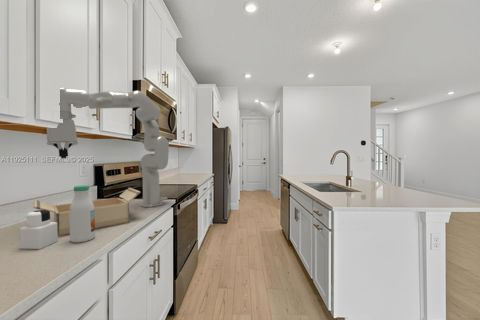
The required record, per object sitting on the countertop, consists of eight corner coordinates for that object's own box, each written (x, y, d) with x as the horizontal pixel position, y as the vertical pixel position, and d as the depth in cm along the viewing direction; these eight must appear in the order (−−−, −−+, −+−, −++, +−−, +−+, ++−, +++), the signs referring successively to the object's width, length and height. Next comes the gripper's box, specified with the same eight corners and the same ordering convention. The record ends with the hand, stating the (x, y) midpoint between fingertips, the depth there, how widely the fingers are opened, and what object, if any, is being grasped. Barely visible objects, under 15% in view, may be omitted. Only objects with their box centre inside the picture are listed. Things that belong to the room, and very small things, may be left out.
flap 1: (52, 204, 99) (34, 199, 95) (55, 211, 87) (34, 206, 83) (51, 205, 99) (33, 201, 95) (54, 212, 86) (33, 208, 82)
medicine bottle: (39, 240, 82) (38, 208, 82) (58, 241, 82) (57, 208, 82) (19, 249, 75) (18, 213, 75) (39, 249, 75) (38, 213, 75)
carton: (118, 214, 118) (117, 197, 118) (129, 222, 103) (129, 203, 103) (53, 225, 100) (53, 205, 100) (57, 237, 86) (56, 213, 86)
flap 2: (119, 197, 117) (130, 188, 120) (129, 202, 105) (140, 192, 108) (118, 196, 117) (129, 187, 120) (128, 201, 104) (139, 191, 108)
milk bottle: (85, 243, 80) (84, 187, 79) (64, 243, 80) (62, 187, 79) (99, 235, 88) (98, 184, 87) (80, 235, 88) (78, 184, 87)
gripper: (80, 118, 106) (82, 157, 107) (37, 116, 96) (40, 159, 97) (83, 116, 101) (85, 157, 102) (38, 114, 91) (41, 159, 92)
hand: (63, 158), depth 99 cm, fingers closed
